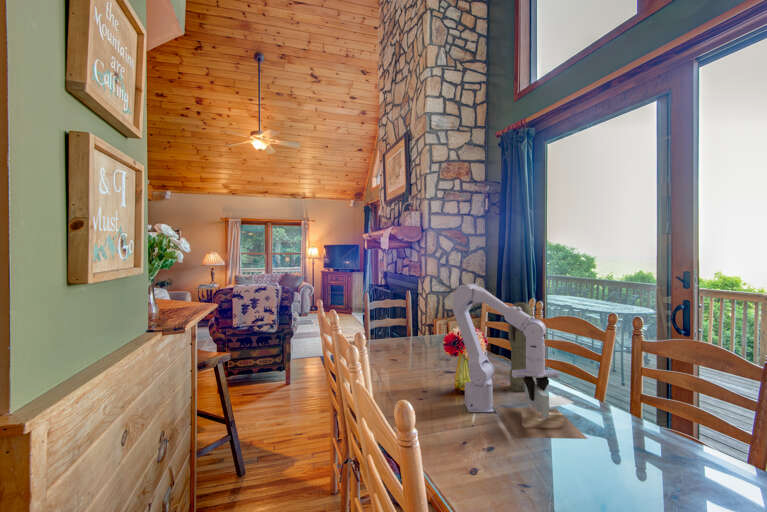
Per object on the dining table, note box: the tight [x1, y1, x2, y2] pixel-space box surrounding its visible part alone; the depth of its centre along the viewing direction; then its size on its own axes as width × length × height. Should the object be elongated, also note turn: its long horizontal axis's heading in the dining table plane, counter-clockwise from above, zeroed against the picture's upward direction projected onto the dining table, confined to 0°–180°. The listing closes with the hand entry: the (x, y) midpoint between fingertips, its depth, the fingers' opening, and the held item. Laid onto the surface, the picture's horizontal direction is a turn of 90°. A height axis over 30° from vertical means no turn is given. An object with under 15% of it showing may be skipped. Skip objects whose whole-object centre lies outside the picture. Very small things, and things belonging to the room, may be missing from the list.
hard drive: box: [549, 395, 574, 408], centre depth 127 cm, size 2×8×12 cm
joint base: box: [497, 407, 588, 440], centre depth 111 cm, size 20×20×5 cm
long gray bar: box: [524, 383, 550, 418], centre depth 113 cm, size 2×15×6 cm, turn 177°
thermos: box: [507, 301, 535, 393], centre depth 141 cm, size 9×12×35 cm
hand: (535, 399), depth 113 cm, fingers closed on long gray bar, 2 cm apart
